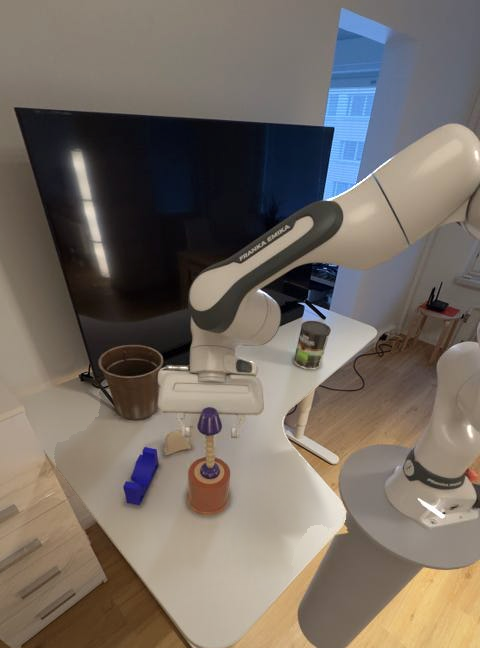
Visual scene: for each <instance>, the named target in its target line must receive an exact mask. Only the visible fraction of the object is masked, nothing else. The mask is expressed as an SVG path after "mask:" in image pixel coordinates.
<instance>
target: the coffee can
mask: <svg viewBox="0 0 480 648" xmlns="http://www.w3.org/2000/svg"><path fill="white" fill-rule="evenodd" d="M299 331H300V332H299V335H298V339H297V344H296V350H295V353H294V356H293V362H294V364H295V365H296V366H297V367H299V368H302V369H305V370H309V371H310V370H311V371H313V370H317V369H319V368H320V367H321V366H322V361H323V357H324V355H325V351H326V347H327V344H328V340H329V337H330V334H331V331H332V329H331V327H330V326H329V325H327V324H326V323H324V322H322V321H317V320H307V321H303V322H302V323H301V325H300V330H299Z"/></svg>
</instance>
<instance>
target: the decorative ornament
mask: <svg viewBox="0 0 480 648" xmlns="http://www.w3.org/2000/svg"><path fill="white" fill-rule="evenodd" d="M187 428H190V432H189V433H190V434H191V432H192V431H193V429H194V426H193V425H190V426H188V427H187ZM188 438H189V437H182V430H180V429H177V430H176V429H175V430H172V431H170V432H169V433H167V434H166V436H165V438H164V446H163V452H164V454H165V455H166V456H168V455H169V456H170V455H171V454H174V453H176V452H179V451H184V450H191V449H192V447H191V444H190V442H189V439H188Z"/></svg>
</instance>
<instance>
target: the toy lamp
mask: <svg viewBox="0 0 480 648" xmlns="http://www.w3.org/2000/svg"><path fill="white" fill-rule="evenodd" d="M197 421H198V422H197V425H196V427H197V431H198V432H199V433H200V434H201V435H203V436H204V438H205V457H206V463H204V464H203V465H202V467H201V469H200V474H201V475H202V476H203V477H204V478H206V479H214V478H216V477H217V476H218V475H219V474H220V468H219V466H218V465H217V464H216V463H214V457H215V436H216V435H217V434H219V433H220V432H221V431H222V429H223V424H222V420H221V417H220V414H218V411H217V410H216V409H215V408H213V407H207V408H204V409H203V410H202V412H201V414H199V418H198V420H197Z"/></svg>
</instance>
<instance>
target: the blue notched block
mask: <svg viewBox="0 0 480 648" xmlns="http://www.w3.org/2000/svg"><path fill="white" fill-rule="evenodd" d="M159 466H160V465H159V455H158V449H157V448H152V447H147V446H144V447H143V449H142V453H141V454H139V455H138V457H137V459H136V461H135V464H134V468H133V471H132V474H131V475H130V480H131V481H128V480H125V482H124V484H123V486H122V487H123V493H124V496H125V500H126V503H127V504H129V505H134V506H139V507H140V506H141V504H142V503H143V501H144V498H145V496H146V494H147V491H148V489H149V487H150V485H151V483H152V481H153V479H154V477H155V475H156V472H157V470H158V468H159Z"/></svg>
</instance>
